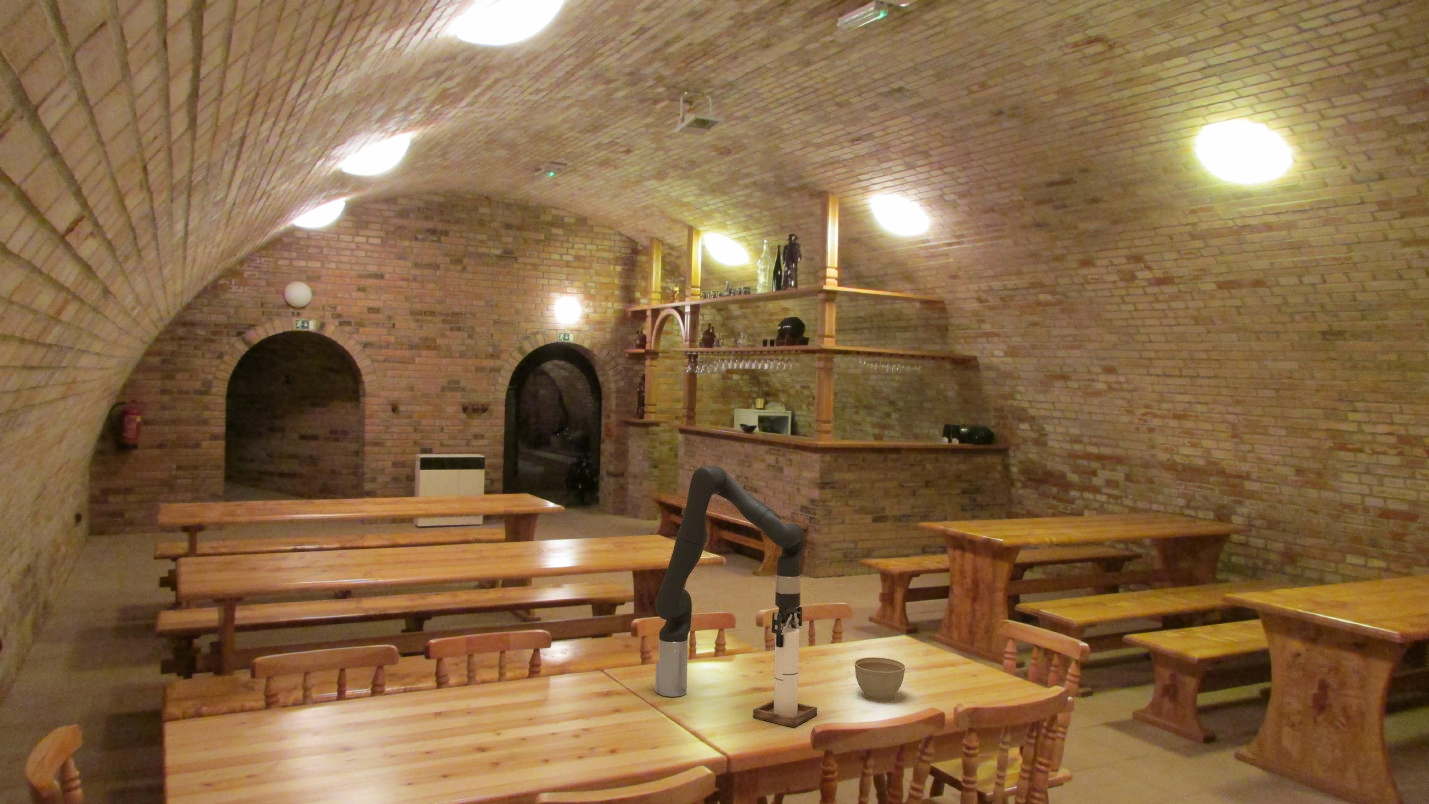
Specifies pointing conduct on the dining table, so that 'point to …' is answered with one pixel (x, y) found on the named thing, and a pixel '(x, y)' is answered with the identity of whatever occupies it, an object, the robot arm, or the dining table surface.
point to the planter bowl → (879, 677)
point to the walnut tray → (768, 714)
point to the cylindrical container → (787, 674)
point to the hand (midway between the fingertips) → (786, 644)
